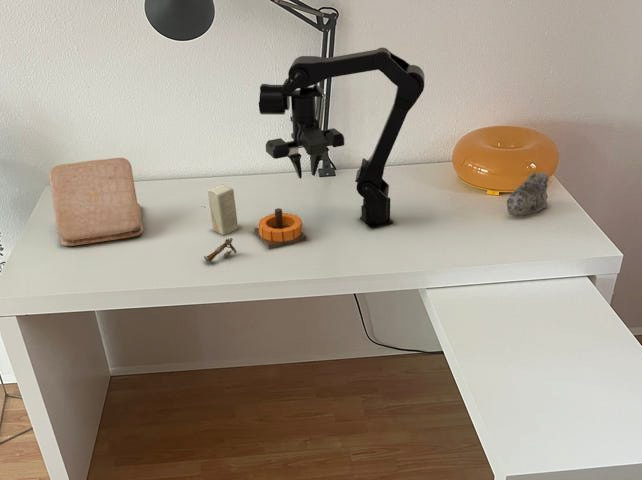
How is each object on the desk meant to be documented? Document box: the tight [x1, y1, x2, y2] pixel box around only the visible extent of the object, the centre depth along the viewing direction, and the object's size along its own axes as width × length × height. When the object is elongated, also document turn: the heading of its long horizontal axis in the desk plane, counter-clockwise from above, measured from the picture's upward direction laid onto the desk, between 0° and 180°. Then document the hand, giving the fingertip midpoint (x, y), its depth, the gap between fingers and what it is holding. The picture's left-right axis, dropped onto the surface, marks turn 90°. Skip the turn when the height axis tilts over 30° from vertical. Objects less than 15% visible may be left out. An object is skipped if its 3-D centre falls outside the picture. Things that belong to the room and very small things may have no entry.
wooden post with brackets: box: [203, 237, 238, 265], centre depth 180 cm, size 2×8×4 cm, turn 124°
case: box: [48, 157, 144, 247], centre depth 193 cm, size 20×21×16 cm
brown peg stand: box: [253, 207, 307, 250], centre depth 187 cm, size 10×10×7 cm
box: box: [207, 184, 239, 236], centre depth 190 cm, size 5×4×11 cm
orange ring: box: [257, 212, 304, 242], centre depth 188 cm, size 11×11×3 cm
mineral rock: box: [506, 171, 549, 216], centre depth 194 cm, size 13×11×10 cm
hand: (306, 176), depth 189 cm, fingers open, 3 cm apart
